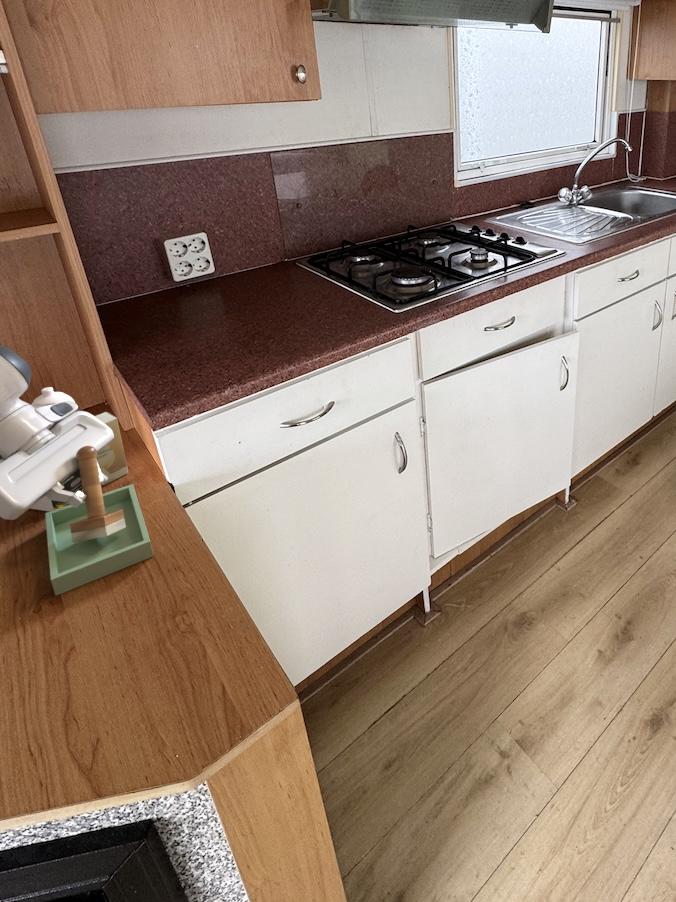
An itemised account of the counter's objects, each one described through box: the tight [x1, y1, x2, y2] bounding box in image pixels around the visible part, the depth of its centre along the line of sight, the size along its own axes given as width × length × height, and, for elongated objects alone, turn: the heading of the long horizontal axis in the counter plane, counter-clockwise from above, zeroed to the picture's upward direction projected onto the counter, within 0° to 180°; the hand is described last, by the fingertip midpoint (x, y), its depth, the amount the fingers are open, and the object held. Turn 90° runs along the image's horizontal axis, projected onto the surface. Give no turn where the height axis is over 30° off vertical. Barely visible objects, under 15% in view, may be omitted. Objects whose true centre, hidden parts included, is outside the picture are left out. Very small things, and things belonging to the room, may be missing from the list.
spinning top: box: [30, 386, 76, 408], centre depth 119 cm, size 8×8×12 cm
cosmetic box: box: [94, 411, 129, 487], centre depth 107 cm, size 6×4×12 cm
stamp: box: [70, 446, 126, 543], centre depth 93 cm, size 6×4×14 cm, turn 90°
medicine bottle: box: [29, 469, 83, 512], centre depth 102 cm, size 7×7×12 cm
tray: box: [44, 483, 155, 597], centre depth 94 cm, size 18×13×3 cm
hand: (93, 493), depth 93 cm, fingers closed on stamp, 3 cm apart
